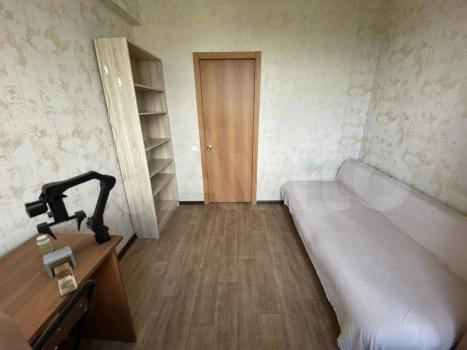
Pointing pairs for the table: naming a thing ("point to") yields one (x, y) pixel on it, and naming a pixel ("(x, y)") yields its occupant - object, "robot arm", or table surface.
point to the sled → (65, 278)
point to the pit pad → (60, 260)
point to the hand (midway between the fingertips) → (68, 235)
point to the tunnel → (57, 258)
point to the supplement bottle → (44, 245)
